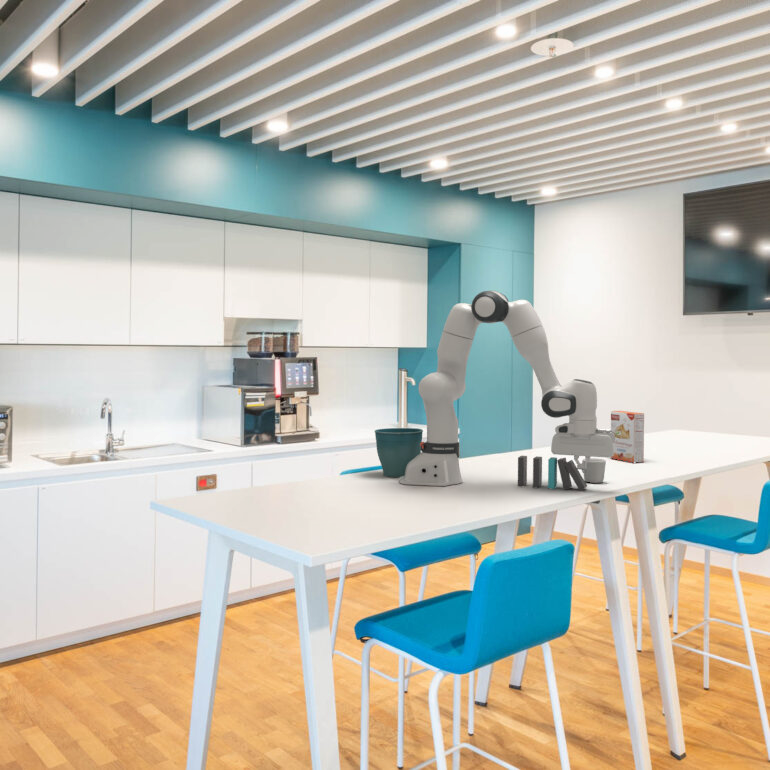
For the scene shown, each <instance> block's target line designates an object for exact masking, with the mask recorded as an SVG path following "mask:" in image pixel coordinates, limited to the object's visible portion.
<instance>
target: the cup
mask: <svg viewBox="0 0 770 770" xmlns="http://www.w3.org/2000/svg"><path fill="white" fill-rule="evenodd" d="M586 461H587V460H586V459H585V458H583V459H582V462H581V464H585V462H586ZM606 463H607V461H606V459H603V458H597V457H593V458H592V457H590V460H589V462H588V463H587V469H586V470H582V469H581V473H582V474H583V479H584V481H585V483H588V482H590V483H589V484H600V483H603V482H604V480H605V471H606Z"/></svg>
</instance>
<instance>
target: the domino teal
mask: <svg viewBox="0 0 770 770" xmlns="http://www.w3.org/2000/svg"><path fill="white" fill-rule="evenodd" d="M557 460H558V457H552V456H551V457H550V458H548V460H547V461H548V465H547V467H548V468H547V469H548V472H547V475H548V476H547V479H548V480H547V482H548V483H547V489H548V488H552V489H551V490H555V489H556V488H557V487H556V486H558V462H557ZM555 487H556V488H555ZM554 488H555V489H554Z"/></svg>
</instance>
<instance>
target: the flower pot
mask: <svg viewBox="0 0 770 770" xmlns="http://www.w3.org/2000/svg"><path fill="white" fill-rule="evenodd" d="M423 432H424V430H423V429H420V428H413V427H390V428H387V427H386V428H379V429H378V428H377V429H375V430H374V434H375V435H374V436H375V440H376V441H375V444H376V452H377V456H378V460H379V462H380V466H381V468H382V472H383V473H382V474H383V476H384V477H389V478H400V477H401V476H405V470H406V466H407V464H408V463H409V462H410V461H411V460H412V459H414V458H415V457H416V456H417V455H419V454H420V453H421V452H422V451H421V446H420V443H421V442H423Z"/></svg>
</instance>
